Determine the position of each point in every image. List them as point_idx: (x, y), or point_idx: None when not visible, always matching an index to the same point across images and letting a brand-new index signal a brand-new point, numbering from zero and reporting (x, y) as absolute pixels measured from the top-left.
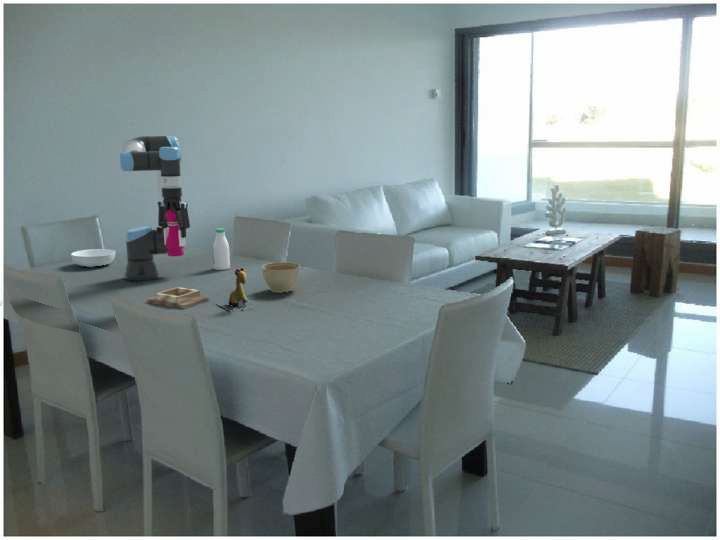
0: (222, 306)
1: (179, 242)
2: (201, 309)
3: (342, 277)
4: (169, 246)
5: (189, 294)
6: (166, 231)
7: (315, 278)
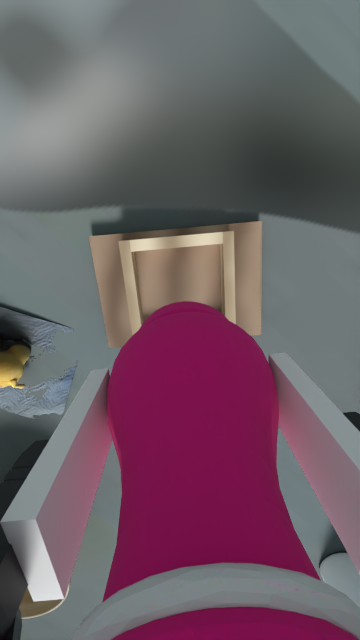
0: (15, 314)
1: (94, 387)
2: (46, 264)
3: (37, 625)
4: (173, 314)
5: (127, 298)
6: (338, 466)
7: (76, 599)
